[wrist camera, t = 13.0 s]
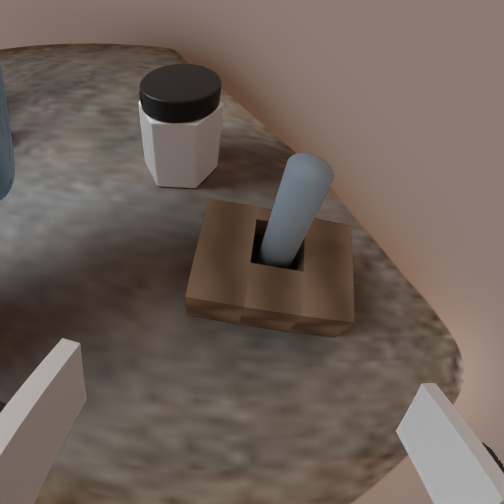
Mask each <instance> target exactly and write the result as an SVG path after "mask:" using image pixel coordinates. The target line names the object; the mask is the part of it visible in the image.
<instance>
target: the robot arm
mask: <svg viewBox="0 0 504 504" xmlns="http://www.w3.org/2000/svg"><path fill="white" fill-rule="evenodd" d="M14 176H15V161H14V150H13V142H12V134H11V127H10V119H9V113H8V106H7V99H6V93H5V87H4V81H3V76H2V71H1V67H0V200H2V199H3V198H4V197H5V196H6V195H7V194H8V193H9V191H10V189H11V187H12V185H13V181H14ZM86 401H87V396H86V389H85V382H84V374H83V365H82V355H81V344H80V343H78V342H74V341H71V340H67V339H64V338H62V339H61V340H60V341H59V343H58V344H57V345H56V346H55V347H54V348H53V349H52V351H51V352H50V353H49V354H48V355H47V356H46V357H45V359H44V360H43V361H42V362H41V363H40V364H39V366H38V367H37V368H36V369H35V370H34V372H33V373H32V374H31V375H30V376H29V378H28V379H27V380H26V381H25V382H24V384H23V385H22V386H21V387H20V389H19V390H18V391H17V392H16V394H15V395H14V396H13V397H12V399H11V400H10V401H9V402H8V404H5V403H3V402H1V401H0V504H34V503H35V500H36V498H37V496H38V494H39V492H40V490H41V488H42V485H43V483H44V481H45V479H46V477H47V475H48V473H49V471H50V469H51V467H52V465H53V463H54V461H55V459H56V457H57V455H58V453H59V451H60V449H61V447H62V445H63V443H64V441H65V439H66V438H67V436H68V434H69V432H70V430H71V428H72V426H73V424H74V422H75V421H76V419H77V417H78V415H79V413H80V411H81V410H82V408H83V406H84V404H85V402H86ZM396 432H397V434H398V436H399V438H400V440H401V442H402V444H403V446H404V447H405V449H406V451H407V453H408V455H409V457H410V459H411V461H412V463H413V465H414V466H415V468H416V470H417V472H418V474H419V476H420V478H421V480H422V482H423V484H424V486H425V488H426V490H427V492H428V494H429V496H430V498H431V500H432V502H433V504H504V467H503V464H502V463H501V462H500V460H498V457H497V456H496V455H495V453H494V452H493V451H492V450H491V449H490V448H489V447H488V446H486V445H485V444H484V443H481V441H480V440H479V439H478V437H477V436H476V435H475V433H474V432H473V431H472V429H471V428H470V427H469V425H468V424H467V423H466V422H465V420H464V419H463V418H462V416H461V415H460V414H459V412H458V411H457V410H456V409H455V407H454V406H453V405H452V403H451V402H450V401H449V400H448V398H447V397H446V396H445V395H444V393H443V392H442V391H441V390H440V388H439V387H438V386H437V385H436V383H422V384H421V386H420V388H419V390H418V392H417V394H416V396H415V398H414V399H413V401H412V403H411V405H410V407H409V409H408V410H407V412H406V414H405V416H404V418H403V419H402V421H401V423H400V424H399V426H398V428H397V430H396Z"/></svg>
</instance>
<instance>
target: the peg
mask: <svg viewBox="0 0 504 504" xmlns="http://www.w3.org/2000/svg"><path fill="white" fill-rule="evenodd" d="M333 176H334V174H333V170H332V168H331V167H330V165H329V164H328V163H327V162H326V161H325V160H323V159H322V158H320V157H318V156H316V155H313V154H309V153H298V154H294V155H293V156H291V157H290V158H289V159H288V161H287V164H286V167H285V171H284V174H283V177H282V180H281V183H280V187H279V190H278V193H277V196H276V200H275V203H274V206H273V209H272V212H271V216H270V219H269V222H268V225H267V228H266V232H265V235H264V238H263V241H262V244H261V248H260V251H259V254H258V257H257V260H256V263H255V264H261V265H267V266H273V267H279V268H284V269H289V267H290V265H291V263H292V261H293V259H294V257H295V256H296V254H297V252H298V250H299V248H300V246H301V244H302V242H303V240H304V238H305V236H306V234H307V232H308V230H309V228H310V226H311V224H312V222H313V220H314V218H315V216H316V214H317V211H318V209H319V207H320V205H321V203H322V201H323V199H324V197H325V195H326V193H327V191H328V189H329V187H330V185H331V182H332V180H333Z"/></svg>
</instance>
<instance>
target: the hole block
mask: <svg viewBox="0 0 504 504" xmlns="http://www.w3.org/2000/svg"><path fill="white" fill-rule="evenodd" d="M271 212H272V210H270V209H265V208H260V207H254V206H249V205H243V204H238V203H232V202H226V201H220V200H215V199H209V200H208V203H207V207H206V211H205V215H204V219H203V223H202V227H201V231H200V235H199V239H198V243H197V247H196V251H195V256H194V260H193V264H192V268H191V273H190V277H189V281H188V286H187V290H186V295H185V299H186V308H187V315H189V316H194V317H200V318H205V319H211V320H217V321H223V322H228V323H234V324H241V325H247V326H253V327H260V328H267V329H273V330H281V331H288V332H295V333H303V334H311V335H319V336H328V337H336V336H337V335H339V334H340V333H341V332H343V331H344V330H345V329H347V328H348V327H349V326H350V325H352V324H353V323H354V278H353V255H352V237H351V226H350V225H345V224H341V223H336V222H331V221H326V220H321V219H316V218H314V220H313V222H312V224H311V226H310V228H309V230H308V232H307V234H306V236H305V238H304V240H303V242H302V244H301V246H300V248H299V250H298V252H297V254H296V256H295V257H294V259H293V265H292V270H290V269H284V268H279V267H273V266H267V265H261V264H255V263H250V262H251V255H252V248H253V245H254V246H260V247H261V244H262V241H263V238H264V235H265V232H266V228H267V225H268V222H269V219H270V216H271Z"/></svg>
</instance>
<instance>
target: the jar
mask: <svg viewBox="0 0 504 504" xmlns="http://www.w3.org/2000/svg"><path fill="white" fill-rule="evenodd" d="M220 93H221V79H220V77H219V76H218V74H217V73H215V72H214V71H213V70H211V69H209V68H206V67H203V66H199V65H194V64H174V65H168V66H164V67H160V68H158V69H155V70H153V71H151V72H150V73H148V74H147V75H146V76H145V77H144V78H143V79H142V80H141V82H140V91H139V95H140V101H139V102H138V103H139V113H140V123H141V132H142V140H143V148H144V156H145V162H146V165H147V167H148V169H149V171H150V173H151V175H152V177H153V179H154V181H155V183H156V185H157V186H161V187H181V188H197V187H198V186H199V185H200V184H201V182H202V181H203V180H204V179H205V178H206V177H207V176H208V175H209V174H210V173H211V172H212V171H213V170H214V169H215V168H216V167H217V165H218V155H219V144H220V134H221V125H222V115H223V106H224V105H223V103H222V102H221V101H220Z"/></svg>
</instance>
